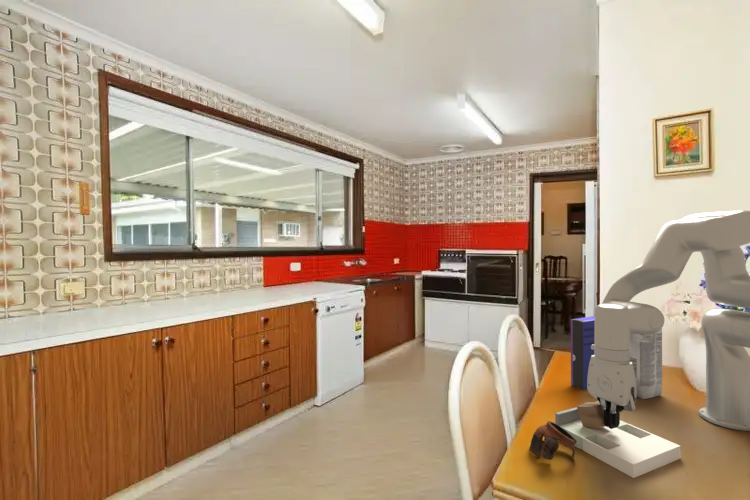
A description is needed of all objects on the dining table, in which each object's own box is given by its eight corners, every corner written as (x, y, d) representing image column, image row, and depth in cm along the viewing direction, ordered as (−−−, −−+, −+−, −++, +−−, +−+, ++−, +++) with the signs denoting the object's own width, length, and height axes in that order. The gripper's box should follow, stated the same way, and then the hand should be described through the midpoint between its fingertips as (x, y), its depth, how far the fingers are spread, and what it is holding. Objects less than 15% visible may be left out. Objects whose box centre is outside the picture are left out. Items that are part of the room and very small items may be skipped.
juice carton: (666, 396, 123) (666, 314, 122) (645, 401, 119) (645, 317, 119) (638, 386, 131) (638, 310, 131) (618, 391, 127) (618, 312, 127)
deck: (680, 458, 88) (680, 433, 88) (633, 478, 81) (633, 450, 81) (599, 421, 106) (599, 400, 106) (555, 435, 99) (555, 412, 99)
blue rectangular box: (602, 377, 140) (602, 314, 140) (615, 382, 136) (615, 316, 136) (571, 385, 133) (570, 318, 133) (583, 390, 129) (582, 321, 128)
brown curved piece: (528, 441, 97) (545, 415, 97) (565, 469, 92) (582, 441, 92) (522, 452, 87) (540, 422, 86) (562, 483, 82) (581, 451, 81)
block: (593, 421, 100) (587, 402, 101) (612, 422, 96) (605, 402, 97) (582, 426, 97) (576, 406, 99) (601, 427, 93) (594, 406, 95)
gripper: (574, 348, 99) (574, 417, 99) (633, 364, 85) (633, 444, 85) (593, 345, 102) (593, 411, 102) (653, 360, 88) (653, 437, 88)
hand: (611, 426), depth 94 cm, fingers closed
